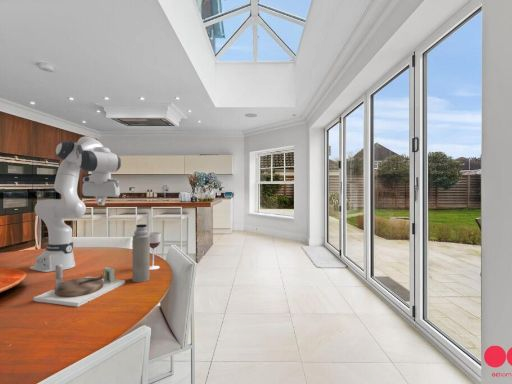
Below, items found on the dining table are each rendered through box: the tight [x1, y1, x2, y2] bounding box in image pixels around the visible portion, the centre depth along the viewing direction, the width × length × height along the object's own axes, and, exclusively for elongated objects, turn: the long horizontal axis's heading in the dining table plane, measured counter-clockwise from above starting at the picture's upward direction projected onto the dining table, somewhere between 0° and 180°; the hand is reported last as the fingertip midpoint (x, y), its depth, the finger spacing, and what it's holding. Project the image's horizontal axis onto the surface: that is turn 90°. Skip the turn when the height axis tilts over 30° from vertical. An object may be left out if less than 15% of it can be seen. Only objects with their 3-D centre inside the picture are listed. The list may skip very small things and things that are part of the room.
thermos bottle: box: [131, 224, 151, 283], centre depth 140 cm, size 8×8×28 cm
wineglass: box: [148, 231, 162, 271], centre depth 161 cm, size 8×9×20 cm
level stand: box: [33, 266, 126, 308], centre depth 123 cm, size 22×27×8 cm
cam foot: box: [54, 265, 106, 297], centre depth 122 cm, size 20×18×12 cm
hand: (101, 205), depth 145 cm, fingers closed
